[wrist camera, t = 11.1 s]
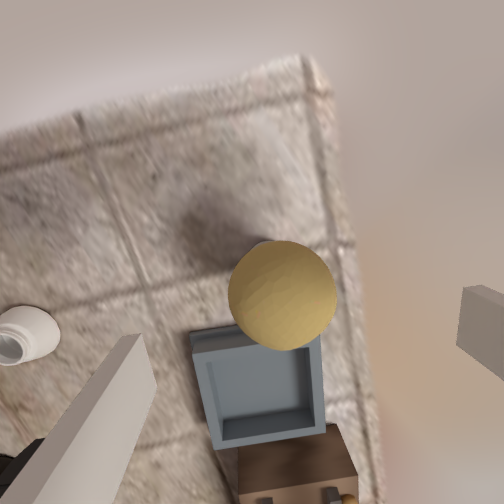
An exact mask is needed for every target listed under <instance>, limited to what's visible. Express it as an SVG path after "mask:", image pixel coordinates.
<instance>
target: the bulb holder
mask: <svg viewBox="0 0 504 504" xmlns="http://www.w3.org/2000/svg"><path fill="white" fill-rule="evenodd" d="M189 338H190V342H191V347H192V358H193V362H194V366H195V371H196V375H197V379H198V384H199V388H200V393H201V397H202V401H203V406H204V410H205V414H206V419H207V423H208V427H209V432H210V436H211V440H212V445H213V449H214V450H220V449H226V448H233V447H239V446H245V445H251V444H258V443H264V442H270V441H277V440H283V439H289V438H296V437H302V436H308V435H314V434H321V433H326V423H325V407H324V391H323V375H322V359H321V343H320V334H319V335H318V336H317V337H316V338H314V339H313V340H312V341H310V342H309V343H307V344H305V345H303V346H301V347H298V348H295V349H292V350H286V351H279V350H274V349H271V348H268V347H265V346H263V345H261V344H259V343H257V342H256V341H254V340H252V339H251V338H250V337H249V336H248V335H246V334H245V333H244V332H243V331H242V329H241V328H240V327H239V326H238V325H236V326H229V327H222V328H216V329H209V330H202V331H195V332H190V335H189Z"/></svg>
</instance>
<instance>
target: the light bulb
mask: <svg viewBox="0 0 504 504" xmlns="http://www.w3.org/2000/svg"><path fill="white" fill-rule="evenodd" d="M228 300H229V307H230V310H231V313H232V316H233V317H234V319H235V321H236V323H237V324H238V326H239V327H240V328H241V329H242V331H243V332H244V333H245V334H246V335H248V336H249V337H250V338H251V339H252V340H254V341H256V342H257V343H259V344H261V345H263V346H265V347H268V348H271V349H274V350H279V351H286V350H292V349H295V348H298V347H301V346H303V345H305V344H307V343H309V342H310V341H312V340H313V339H314V338H316V337H317V336H318V335H319V334H320V333H321V332H323V331H324V329H325V328H326V327H327V326H328V324H329V322H330V321H331V319H332V317H333V316H334V313H335V309H336V305H337V295H336V287H335V283H334V280H333V277H332V275H331V273H330V271H329V269H328V267H327V266H326V264H325V263H324V262H323V260H322V259H321V258H320V257H319V256H318V255H317V254H316V253H314V252H313V251H312V250H310V249H309V248H307V247H305V246H303V245H301V244H298V243H295V242H290V241H263V242H260V243H258V244H256V245H255V246H254V247H253V248H252V249H251V250H250V251H249V252H248V253H247V254H246V255H244V257H243V258H242V259H241V260H240V261H239V263H238V264H237V265H236V267H235V268H234V271H233V273H232V276H231V278H230V282H229V287H228Z"/></svg>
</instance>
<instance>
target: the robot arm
mask: <svg viewBox="0 0 504 504" xmlns="http://www.w3.org/2000/svg"><path fill="white" fill-rule="evenodd" d="M456 345H457V346H458V347H460V348H461V349H462V350H464V351H465V352H466V353H468V354H469V355H470V356H472V357H473V358H474V359H476V360H477V361H478V362H480V363H481V364H482V365H484V366H485V367H486V368H487V369H489V370H490V371H491V372H493V373H494V374H495V375H497V376H498V377H499V378H501V379H502V380H503V381H504V294H502V293H499V292H497V291H495V290H492V289H490V288H488V287H485V286H483V285H477V286H470V287H463V294H462V301H461V309H460V317H459V325H458V333H457V341H456ZM156 391H157V385H156V381H155V378H154V375H153V371H152V368H151V364H150V361H149V358H148V354H147V351H146V348H145V344H144V341H143V337H142V334H141V333H140V334H133V335H126V336H122V337H121V338H120V340H119V341H118V342H117V344H116V345H115V346H114V348H113V349H112V350H111V352H110V353H109V354H108V356H107V357H106V358H105V360H104V361H103V362H102V364H101V365H100V366H99V368H98V369H97V370H96V372H95V373H94V374H93V376H92V377H91V378H90V380H89V381H88V382H87V384H86V385H85V386H84V388H83V389H82V390H81V392H80V393H79V394H78V396H77V397H76V398H75V400H74V401H73V402H72V404H71V405H70V406H69V408H68V409H67V410H66V412H65V413H64V414H63V416H62V417H61V418H60V420H59V421H58V422H57V424H56V425H55V426H54V428H53V429H52V430H51V432H50V433H49V434H48V436H47V437H46V438H41V439H36V440H34V441H33V442H32V443H31V444H30V445H29V446H28V447H27V448H25V449H24V450H23V451H22V452H21V453H20V454H19V455H18V456H17V457H15V458H14V459H13V460H12V461H11V462H10V464H9V465H8V466H7V467H6V468H5V470H4V471H3V472H2V473H1V475H0V504H113V501H114V499H115V496H116V494H117V491H118V488H119V486H120V483H121V481H122V478H123V476H124V473H125V471H126V468H127V465H128V463H129V460H130V458H131V455H132V453H133V450H134V447H135V445H136V442H137V440H138V437H139V435H140V432H141V430H142V427H143V424H144V422H145V419H146V417H147V414H148V412H149V409H150V406H151V404H152V401H153V399H154V396H155V394H156Z"/></svg>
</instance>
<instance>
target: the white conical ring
mask: <svg viewBox="0 0 504 504" xmlns="http://www.w3.org/2000/svg"><path fill="white" fill-rule="evenodd" d="M59 341H60V330H59V327H58V325H57V323H56V321H55V320H54V319H53V318H52V317H51V316H50V315H49V314H48V313H46V312H44V311H42V310H40V309H38V308H36V307H30V306H19V307H13V308H11V309H9V310H8V311H6V312H5V313H3V314H2V315H0V364H1V365H5V366H12V365H17V364H19V363H22V362H27V361H31V360H34V359H38V358H41V357H44V356H46V355H47V354H49V353H50V352H52V351H53V350H54V349H55V348H56V346H57V345H58V343H59Z"/></svg>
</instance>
